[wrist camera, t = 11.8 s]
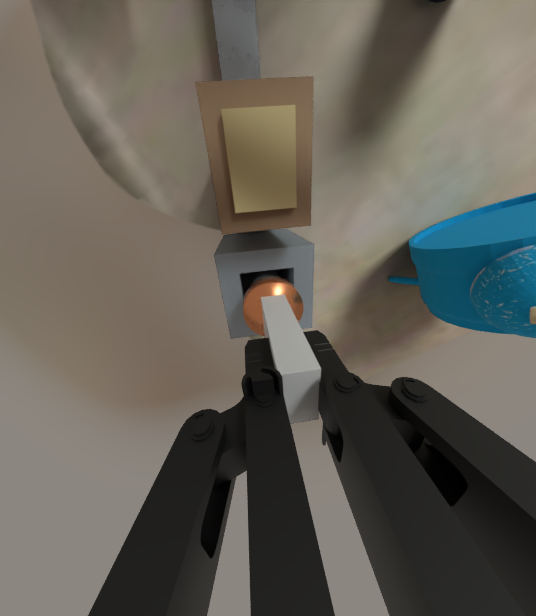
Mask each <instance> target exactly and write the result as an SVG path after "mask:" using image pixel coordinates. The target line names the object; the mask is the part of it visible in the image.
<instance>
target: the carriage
mask: <svg viewBox="0 0 536 616" xmlns="http://www.w3.org/2000/svg"><path fill="white" fill-rule="evenodd" d="M196 88H197V94H198V99H199V105H200V111H201V117H202V122H203V128H204V134H205V140H206V145H207V151H208V157H209V163H210V168H211V174H212V180H213V185H214V191H215V197H216V203H217V208H218V214H219V220H220V226H221V231H222V234H230V233H240V232H250V231H260V230H270V229H280V228H290V227H301V226H311V181H312V123H313V76H311V77H289V78H267V79H246V80H224V81H202V82H196Z"/></svg>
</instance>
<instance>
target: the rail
mask: <svg viewBox="0 0 536 616" xmlns="http://www.w3.org/2000/svg"><path fill="white" fill-rule="evenodd" d="M211 1H212V8H213V16H214V24H215V31H216V39H217V47H218V54H219V62H220V70H221V77H222V81H224V80H246V79H260V65H259V50H258V36H257V21H256V6H255V0H211Z"/></svg>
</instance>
